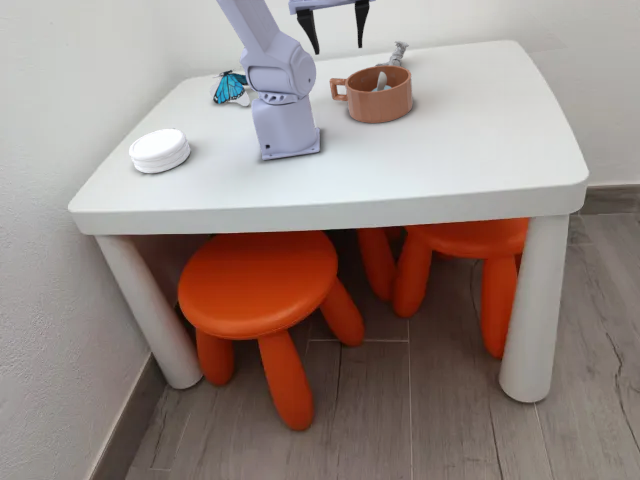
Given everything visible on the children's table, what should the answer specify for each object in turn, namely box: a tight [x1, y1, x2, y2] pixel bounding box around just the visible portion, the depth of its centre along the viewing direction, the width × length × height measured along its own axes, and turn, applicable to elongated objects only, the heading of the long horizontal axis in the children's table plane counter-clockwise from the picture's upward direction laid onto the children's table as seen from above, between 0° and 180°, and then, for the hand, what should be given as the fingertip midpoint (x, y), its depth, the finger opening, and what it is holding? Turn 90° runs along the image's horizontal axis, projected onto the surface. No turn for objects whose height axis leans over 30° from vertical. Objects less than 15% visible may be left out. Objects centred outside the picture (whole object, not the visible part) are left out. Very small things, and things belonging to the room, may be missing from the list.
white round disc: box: [128, 128, 191, 174], centre depth 88 cm, size 10×10×4 cm
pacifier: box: [371, 72, 391, 92], centre depth 88 cm, size 7×6×6 cm
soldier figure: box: [375, 40, 410, 67], centre depth 101 cm, size 8×5×12 cm
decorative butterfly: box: [209, 68, 250, 107], centre depth 104 cm, size 10×6×10 cm
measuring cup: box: [329, 65, 414, 124], centre depth 90 cm, size 15×11×6 cm
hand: (338, 49), depth 90 cm, fingers open, 7 cm apart
